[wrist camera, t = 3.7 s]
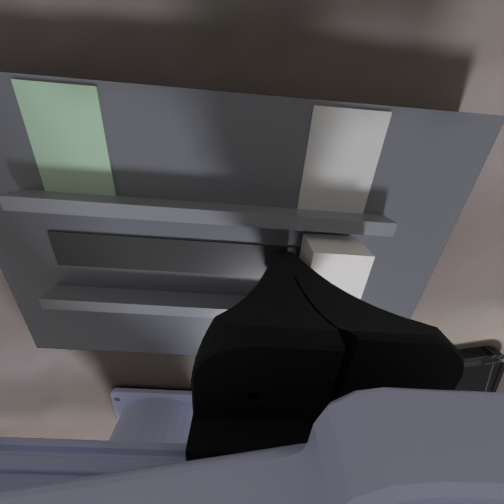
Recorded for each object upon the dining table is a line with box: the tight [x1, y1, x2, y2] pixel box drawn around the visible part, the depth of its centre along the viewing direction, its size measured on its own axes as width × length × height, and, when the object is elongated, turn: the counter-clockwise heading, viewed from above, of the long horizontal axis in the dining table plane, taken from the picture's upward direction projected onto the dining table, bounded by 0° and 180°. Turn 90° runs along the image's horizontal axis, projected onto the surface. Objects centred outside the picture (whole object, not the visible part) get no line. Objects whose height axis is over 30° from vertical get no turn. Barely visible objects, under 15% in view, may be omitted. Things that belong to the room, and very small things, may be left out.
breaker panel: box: [0, 72, 504, 355], centre depth 13 cm, size 14×22×4 cm, turn 86°
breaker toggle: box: [299, 233, 375, 299], centre depth 11 cm, size 4×2×2 cm, turn 176°
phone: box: [454, 346, 504, 392], centre depth 20 cm, size 8×1×15 cm
